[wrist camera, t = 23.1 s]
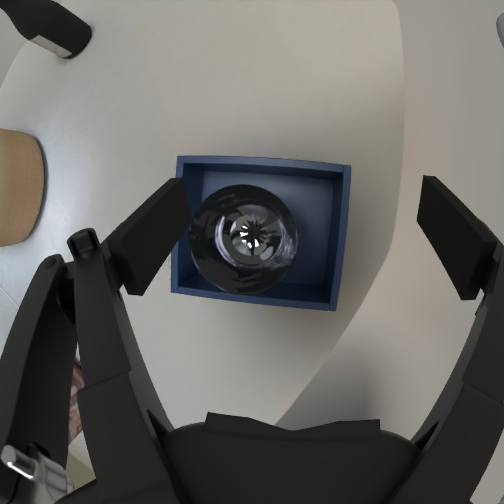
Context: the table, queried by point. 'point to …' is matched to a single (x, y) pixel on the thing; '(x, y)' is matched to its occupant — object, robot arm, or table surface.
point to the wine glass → (243, 239)
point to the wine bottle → (48, 25)
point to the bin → (305, 215)
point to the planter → (19, 185)
